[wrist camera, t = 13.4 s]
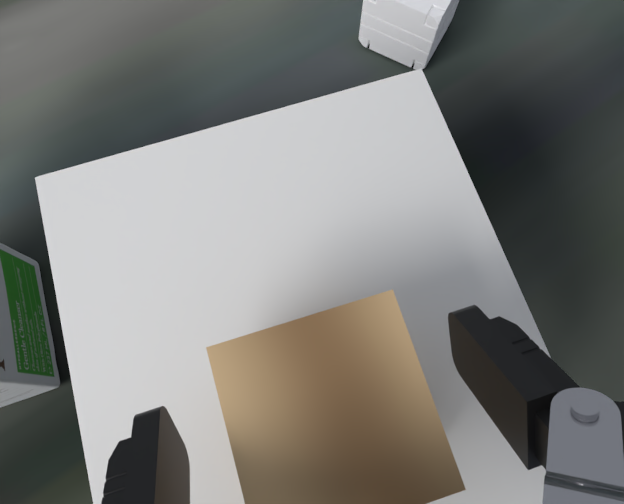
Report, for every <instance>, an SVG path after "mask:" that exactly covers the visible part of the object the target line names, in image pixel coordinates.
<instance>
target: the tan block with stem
mask: <svg viewBox="0 0 624 504" xmlns="http://www.w3.org/2000/svg"><path fill="white" fill-rule="evenodd" d="M206 349H207V353H208V357H209V361H210V365H211V369H212V373H213V377H214V381H215V385H216V389H217V393H218V397H219V401H220V405H221V409H222V413H223V417H224V421H225V425H226V429H227V434H228V438H229V442H230V446H231V450H232V454H233V458H234V462H235V466H236V470H237V474H238V478H239V482H240V486H241V490H242V494H243V498H244V502H245V504H427V503H430V502H432V501H435V500H438V499H441V498H444V497H447V496H450V495H452V494H455V493H458V492H461V491H464V490H466V489H465V486H464V483H463V480H462V478H461V475H460V472H459V469H458V467H457V464H456V461H455V458H454V456H453V453H452V450H451V447H450V445H449V442H448V439H447V437H446V434H445V431H444V428H443V426H442V423H441V420H440V417H439V415H438V412H437V409H436V406H435V404H434V401H433V398H432V395H431V393H430V390H429V387H428V384H427V382H426V379H425V376H424V374H423V371H422V368H421V365H420V363H419V360H418V357H417V354H416V352H415V349H414V346H413V343H412V341H411V338H410V335H409V332H408V330H407V327H406V324H405V322H404V319H403V316H402V313H401V311H400V308H399V305H398V302H397V300H396V297H395V294H394V291H393V289H392V290H389V291H386V292H383V293H380V294H376V295H373V296H370V297H367V298H363V299H360V300H357V301H354V302H351V303H347V304H344V305H341V306H338V307H334V308H331V309H328V310H325V311H322V312H318V313H315V314H312V315H309V316H305V317H302V318H299V319H296V320H293V321H289V322H286V323H283V324H280V325H276V326H273V327H270V328H267V329H264V330H260V331H257V332H254V333H251V334H248V335H244V336H241V337H238V338H235V339H231V340H228V341H225V342H222V343H219V344H215V345H212V346H209V347H206Z"/></svg>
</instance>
